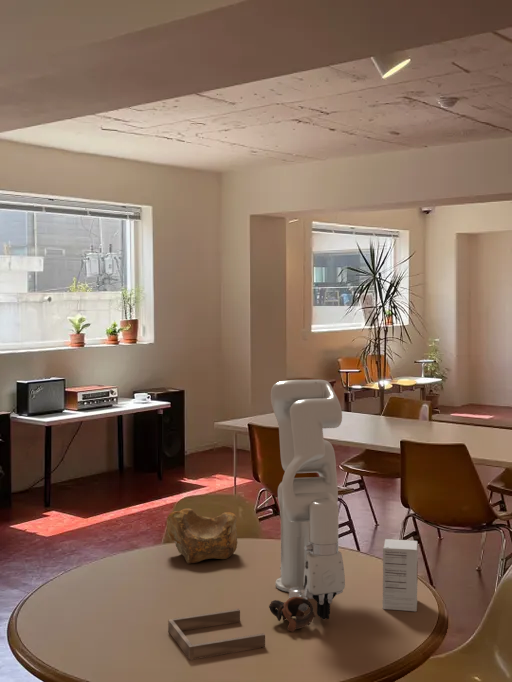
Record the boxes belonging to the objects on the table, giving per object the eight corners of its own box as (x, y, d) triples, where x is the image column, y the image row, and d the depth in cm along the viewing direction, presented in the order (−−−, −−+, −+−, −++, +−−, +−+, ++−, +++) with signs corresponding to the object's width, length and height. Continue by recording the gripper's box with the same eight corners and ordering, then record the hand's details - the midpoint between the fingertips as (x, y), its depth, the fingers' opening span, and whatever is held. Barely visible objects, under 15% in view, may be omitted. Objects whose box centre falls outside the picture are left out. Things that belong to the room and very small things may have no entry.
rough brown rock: (160, 568, 263) (161, 523, 261) (167, 548, 280) (168, 505, 278) (235, 571, 263) (236, 525, 261) (237, 551, 279) (238, 507, 277)
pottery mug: (314, 619, 221) (320, 598, 217) (306, 648, 213) (311, 627, 209) (270, 605, 223) (275, 584, 219) (260, 633, 215) (265, 611, 211)
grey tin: (286, 606, 229) (286, 588, 229) (302, 603, 231) (302, 586, 231) (293, 612, 225) (293, 594, 224) (310, 610, 226) (310, 592, 226)
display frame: (168, 631, 212) (168, 619, 212) (238, 620, 219) (238, 609, 219) (189, 659, 196) (189, 647, 195) (265, 647, 203) (265, 634, 202)
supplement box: (417, 612, 225) (417, 550, 224) (382, 609, 227) (382, 548, 226) (417, 599, 234) (418, 539, 233) (384, 597, 236) (384, 538, 235)
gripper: (303, 555, 211) (303, 627, 212) (356, 548, 217) (355, 618, 218) (291, 547, 218) (291, 616, 219) (342, 540, 224) (342, 608, 225)
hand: (323, 617), depth 218 cm, fingers closed
